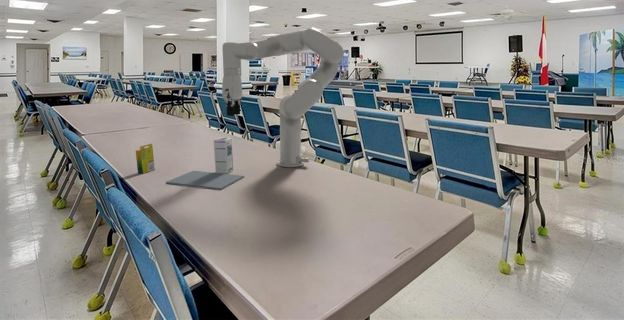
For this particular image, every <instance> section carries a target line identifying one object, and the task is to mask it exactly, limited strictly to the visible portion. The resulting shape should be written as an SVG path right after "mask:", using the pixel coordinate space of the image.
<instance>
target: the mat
mask: <svg viewBox="0 0 624 320" xmlns="http://www.w3.org/2000/svg"><path fill="white" fill-rule="evenodd" d="M244 178H245V175H241V174H240V175H239V174H231V173H228V174H225V173H216V172H210V171H200V170H191V171H189V172H187V173H183V174H182V175H180V176H176V177H174V178H172V179H169V180H167V181H165V184H170V185H176V186H185V187H194V188H195V187H196V188H202V189H211V190H219V191H222V190H224V189H225V188H227V187H229V186H231V185H233V184H235V183H236V182H238V181H241V180H242V179H244Z"/></svg>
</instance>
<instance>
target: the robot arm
mask: <svg viewBox="0 0 624 320" xmlns="http://www.w3.org/2000/svg"><path fill="white" fill-rule="evenodd" d="M310 50H311V51H312V52H313V53H315V54H316V55H318V56H319V57H320V64H319V65H318V67H317V68H316V69H314V71H313V72H312V73H311V74H309V76H307V77H306V78H305V79H304V80H302V82H300V84H299V85H298V88H297V90H296V91H294V92H293V93H292V94H290V95H286V96H283V97H282V99H281V100H280V102H279V105H278V106H279V107H278V110H279V158H280V159H279V160H277V161H276V165H277V166H278V167H282V168H298V167H303V166H304V165H305V163H310V158H309V157H304V156H303V155H304V154H303V153H302V152H301V151H302V148H301V147H302V137H301V136H302V120H301V118H302V116H303V115H305V114H306V113H307V112H308V111H309V110H310V109H311V108H312V107H313V106H314V105H315V104H317V103H318V101H320V99H321V98H322V96H323V93H324V91H323V90H324V89H325V88H326V87H327V86H328V85H329V84H330V83H331V82H332V81H333V80H334V79H335V78H336V75H337V73H338V71H339V70H338V69H339V63H340V62H341V61H342V60H343V59H344V56H345V52H344V51H345V50H344V48H343V46H342V45H340V43H338V42H337V41H335V40H334V39H332V38H331V37H329V36H328V35H327V34H324V33H323V32H321V31H320V30H318V29H317V28H315V27H309V28H307V29H303V30H298V31H293V32H287V33H281V34H278V35H275V36H273V37H271V38H266V39H264V40H258V41H253V42H251V41H249V42H247V41H246V42H240V43H239V42H229V41H228V42H224V43H223V44H222V72H223V73H222V74H223V77H222V86H221V87H222V88H221V91H222V93H221V94H222V95H221V96H222V99H223V101H224V103H225V107H226V116H228V117H229V116H230V117H234V116H235V115H238V116H239V115H241V102H242V98H243V84H242V60H244V61H250V62H251V61H255V60H260V59H265V58H270V57H281V56H286V55H290V54H295V53H299V52H305V51H310Z"/></svg>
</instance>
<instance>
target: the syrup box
mask: <svg viewBox="0 0 624 320" xmlns="http://www.w3.org/2000/svg"><path fill="white" fill-rule="evenodd" d="M232 139H233V138H232V137H227V136H226V137H223V136H221V137H218V138H216V139H213V153H214V166H215V167H214V169H215V173H221V174H230V173H231V172H232V171H234V163H233V143H232Z"/></svg>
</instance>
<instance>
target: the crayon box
mask: <svg viewBox="0 0 624 320" xmlns="http://www.w3.org/2000/svg"><path fill="white" fill-rule="evenodd" d="M139 148H140V149H137V150H135V156H136V167H137V168H136V169H137V173H138V174H142V175H143V174H146V173H149V172H151V171H155V170H156V168H155V159H154V158H155V157H154V148H153V143H149V144H145V145H141V146H140V147H139Z"/></svg>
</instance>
